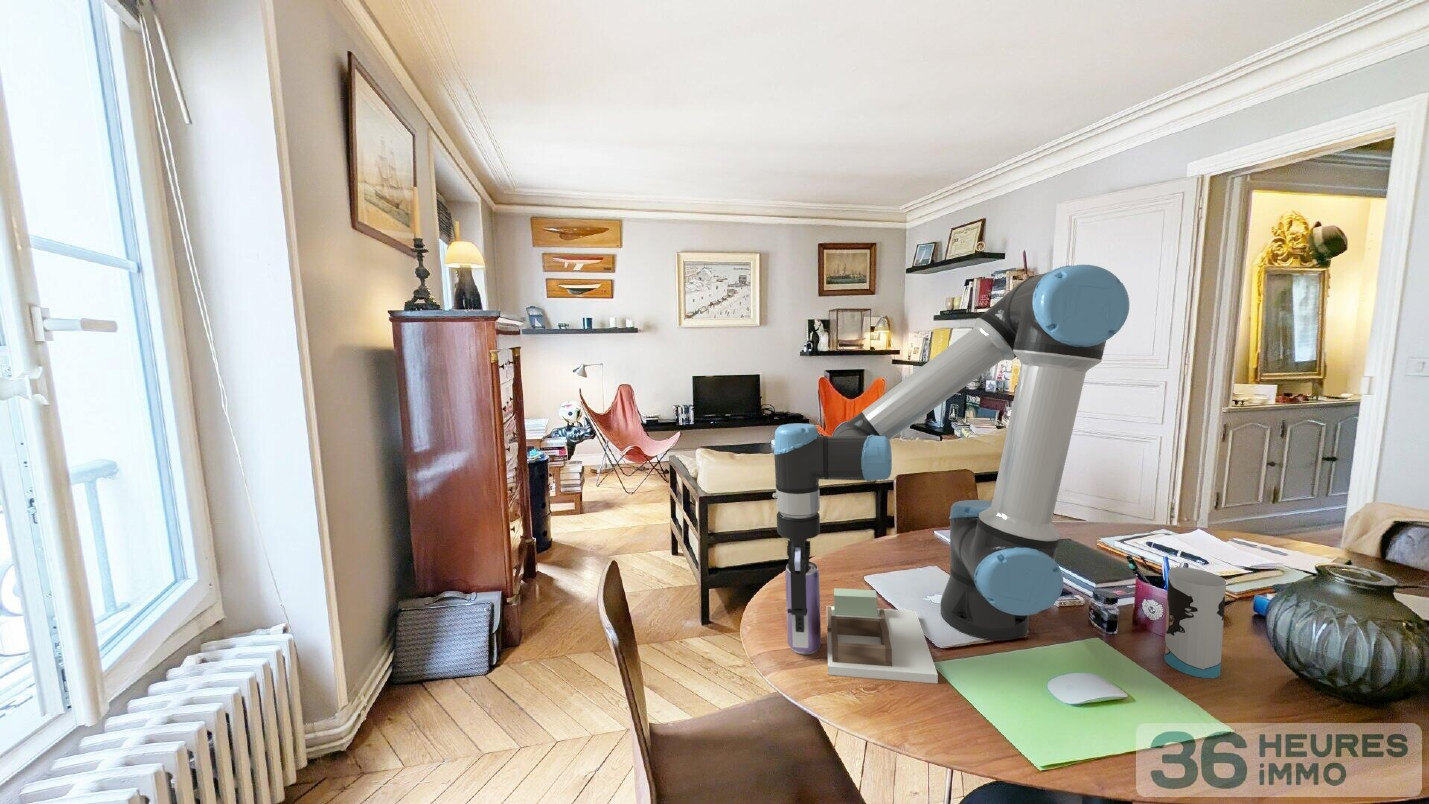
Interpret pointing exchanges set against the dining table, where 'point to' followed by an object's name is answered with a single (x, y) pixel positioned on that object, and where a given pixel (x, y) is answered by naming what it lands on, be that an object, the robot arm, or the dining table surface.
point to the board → (906, 650)
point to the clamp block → (855, 602)
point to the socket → (860, 652)
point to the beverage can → (812, 608)
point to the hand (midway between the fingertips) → (801, 635)
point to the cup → (1194, 621)
